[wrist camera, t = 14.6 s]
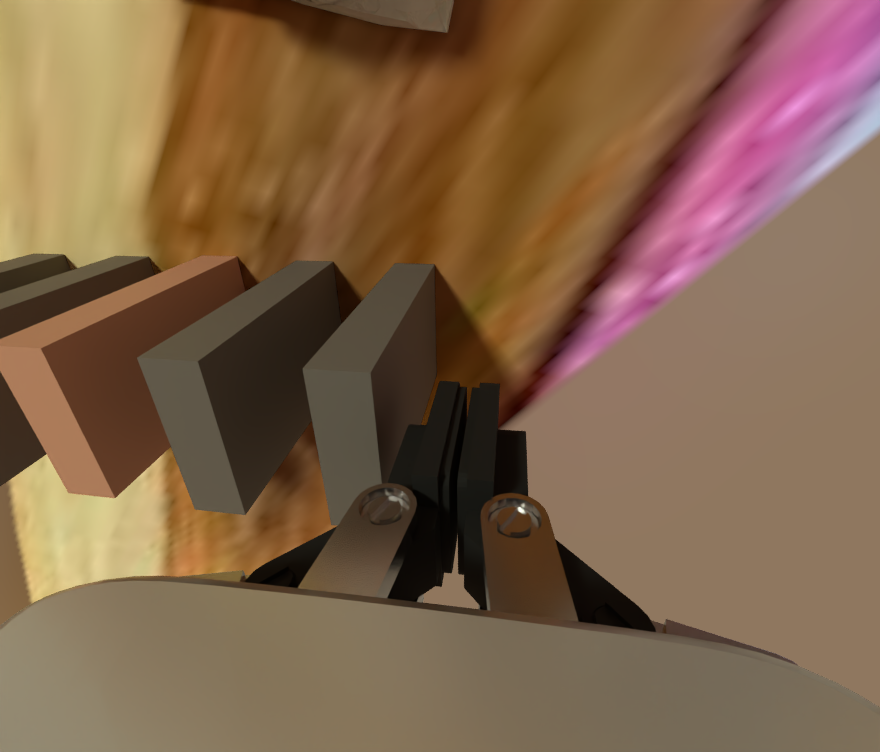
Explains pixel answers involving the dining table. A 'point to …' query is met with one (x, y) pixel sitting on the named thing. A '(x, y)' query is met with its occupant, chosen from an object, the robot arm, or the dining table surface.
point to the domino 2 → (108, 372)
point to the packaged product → (393, 12)
